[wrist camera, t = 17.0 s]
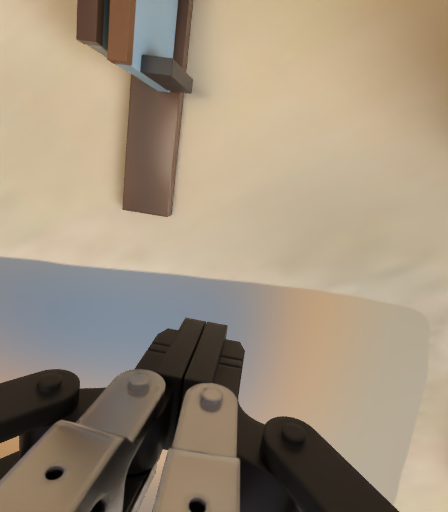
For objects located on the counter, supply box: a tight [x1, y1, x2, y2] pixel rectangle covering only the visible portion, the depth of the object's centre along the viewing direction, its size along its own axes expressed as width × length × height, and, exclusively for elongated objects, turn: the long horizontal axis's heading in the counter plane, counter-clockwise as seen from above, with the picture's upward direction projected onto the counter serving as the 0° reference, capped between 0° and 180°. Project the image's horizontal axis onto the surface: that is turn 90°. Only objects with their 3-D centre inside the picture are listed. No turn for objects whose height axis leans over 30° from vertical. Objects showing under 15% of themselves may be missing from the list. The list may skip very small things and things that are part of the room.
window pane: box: [107, 0, 193, 94], centre depth 28 cm, size 4×11×11 cm, turn 172°
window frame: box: [77, 0, 193, 217], centre depth 30 cm, size 5×27×13 cm, turn 172°
